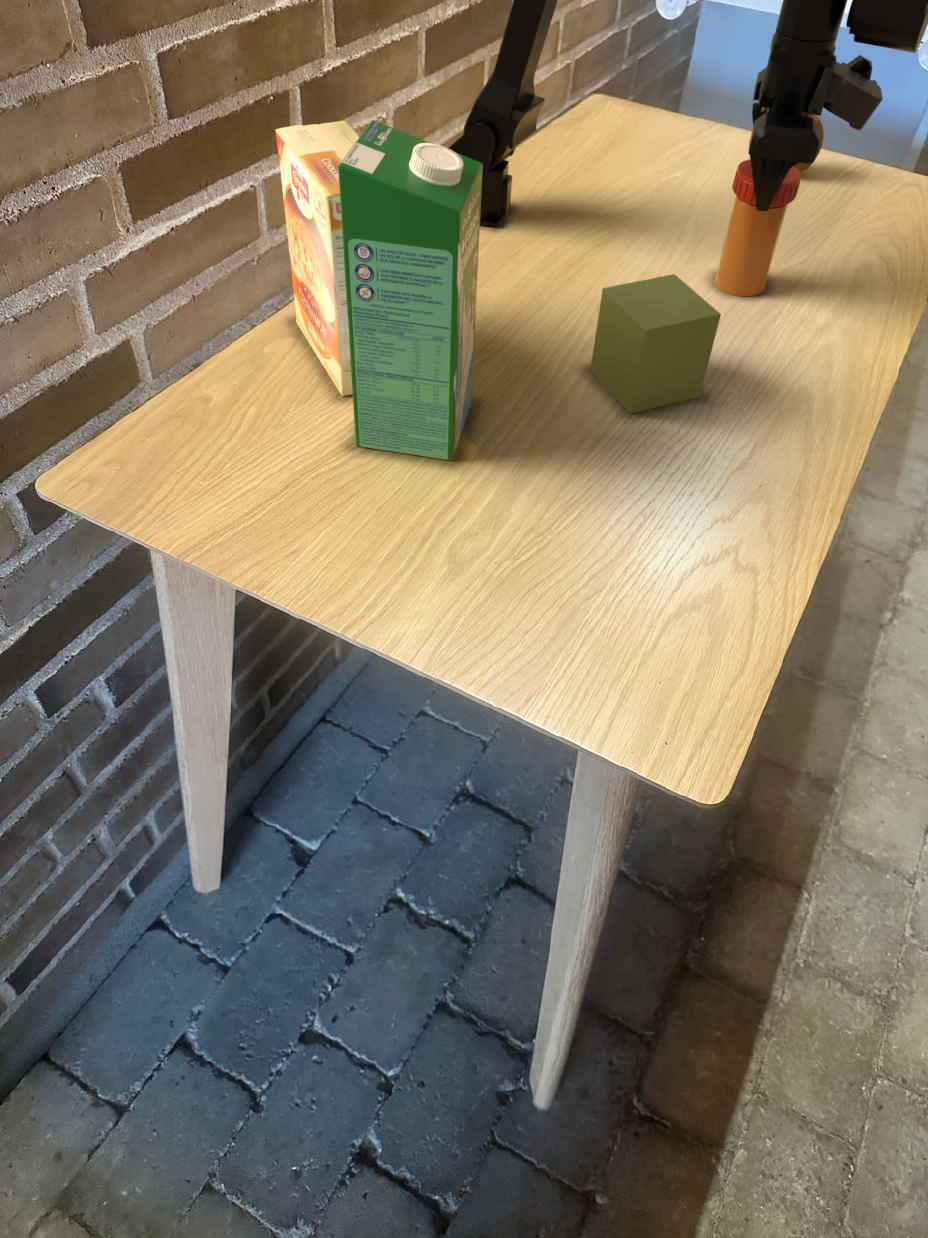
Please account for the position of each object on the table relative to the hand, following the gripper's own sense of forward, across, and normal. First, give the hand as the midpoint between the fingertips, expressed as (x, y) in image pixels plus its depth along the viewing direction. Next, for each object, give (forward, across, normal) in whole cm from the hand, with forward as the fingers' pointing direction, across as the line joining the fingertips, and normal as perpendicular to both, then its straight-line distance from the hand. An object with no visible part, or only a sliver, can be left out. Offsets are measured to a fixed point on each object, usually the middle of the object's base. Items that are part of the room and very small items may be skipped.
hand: (762, 197), depth 101 cm
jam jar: (+10, 0, 0) cm, 10 cm away
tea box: (+10, -24, +8) cm, 27 cm away
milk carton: (+10, -36, +29) cm, 47 cm away
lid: (-2, 0, 0) cm, 2 cm away
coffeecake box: (+10, -26, +38) cm, 48 cm away
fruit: (+10, +34, -6) cm, 36 cm away
